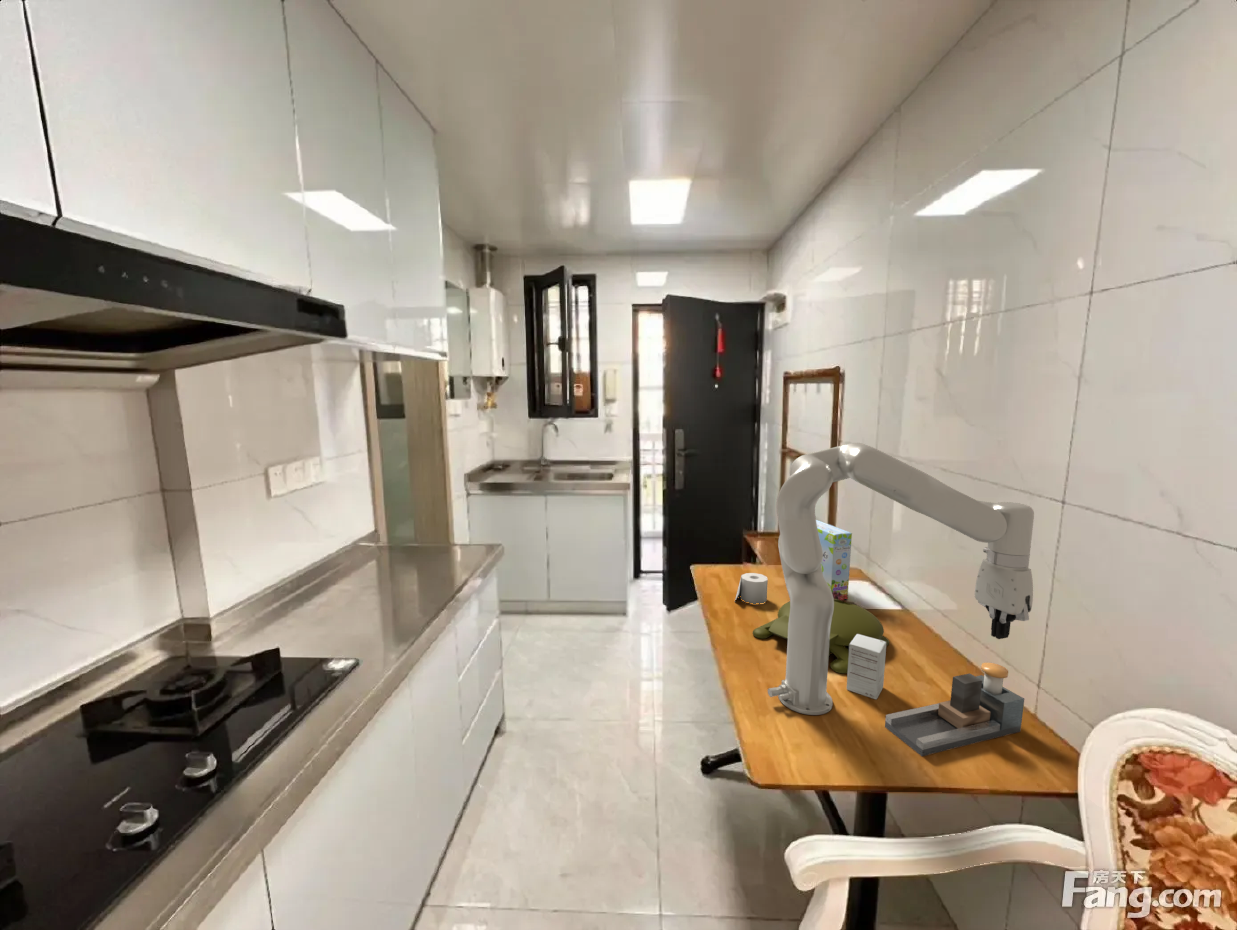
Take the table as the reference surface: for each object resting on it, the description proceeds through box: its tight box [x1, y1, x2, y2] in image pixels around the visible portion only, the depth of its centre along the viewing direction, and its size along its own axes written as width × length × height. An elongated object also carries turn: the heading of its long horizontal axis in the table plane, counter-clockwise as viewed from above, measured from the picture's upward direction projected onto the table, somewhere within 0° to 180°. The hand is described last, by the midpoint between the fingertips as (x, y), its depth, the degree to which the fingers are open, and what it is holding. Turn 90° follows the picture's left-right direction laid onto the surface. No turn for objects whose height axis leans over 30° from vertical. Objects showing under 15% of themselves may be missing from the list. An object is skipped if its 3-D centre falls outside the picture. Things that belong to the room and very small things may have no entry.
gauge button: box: [980, 662, 1009, 695], centre depth 119 cm, size 5×5×8 cm
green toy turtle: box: [752, 598, 890, 675], centre depth 161 cm, size 35×31×10 cm
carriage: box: [938, 673, 991, 728], centre depth 117 cm, size 8×6×10 cm
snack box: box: [816, 519, 853, 601], centre depth 197 cm, size 22×9×26 cm, turn 17°
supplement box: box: [846, 634, 887, 700], centre depth 132 cm, size 7×7×13 cm
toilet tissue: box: [734, 572, 769, 604], centre depth 188 cm, size 9×13×9 cm
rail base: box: [884, 674, 1025, 757], centre depth 117 cm, size 28×10×8 cm, turn 107°
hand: (999, 636), depth 118 cm, fingers closed
